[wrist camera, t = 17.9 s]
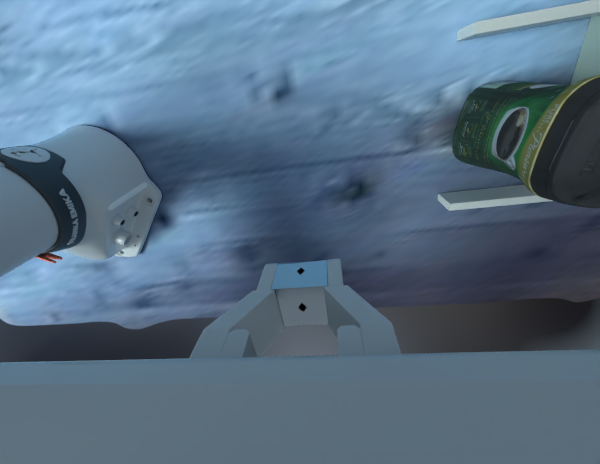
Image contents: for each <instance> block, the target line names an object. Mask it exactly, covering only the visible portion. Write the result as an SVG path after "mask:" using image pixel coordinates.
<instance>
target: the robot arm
mask: <svg viewBox="0 0 600 464" xmlns="http://www.w3.org/2000/svg"><path fill="white" fill-rule="evenodd" d="M161 198H162V193H161V191H160V190H159V188H158V187H157V186H156V185H155V184H154V183H153V182H152V181H151V180H150V179H149V178H148V176H147V174H146V173H145V171H144V168H143V167H142V165H141V163H140V161H139V160H138V158H137V157H136V155H135V154H134V153H133V152H132V150H131V149H130V148H129V147H128V146H127V145H126V144H125V143H123V142H122V141H121V140H120V139H118V138H117V137H116V136H114V135H112V134H111V133H109V132H107V131H105V130H102V129H100V128H97V127H93V126H87V125H79V126H74V127H71V128H68V129H67V130H65V131H63V132H62V133H60V134H58V135H56V136H54V137H52V138H50V139H48V140H45V141H42V142H40V143H37V144H33V145H28V146H16V147H8V148H2V149H0V277H2V276H3V275H5V274H7V273H9V272H10V271H12V270H14V269H15V268H17V267H19V266H20V265H22V264H24V263H25V262H27V261H29V260H30V259H32V258H34V257H36V258H39V259H42V260H45V261H48V262H52V263H56V261H54V260H51V259H58V260H61V259H62V257H59V256H56V255H54V254H51V253H50V252H55V251H59V250H61V251H63V252H66V253H69V254H72V255H75V256H78V257H82V258H86V259H93V260H103V259H107V258H110V257H112V256H120V257H134V256H137V255H138V254H140V252H141V250H142V247H143V245H144V242H145V240H146V237H147V235H148V232H149V229H150V227H151V224H152V222H153V219H154V217H155V214H156V211H157V209H158V206H159V204H160V201H161ZM150 199H151V200H152V201H151V200H150ZM49 258H50V259H49ZM300 325H328V326H329V327H330V329H331V330H332V331H333V333H334V334H335V336H336V337H337V339H338V355H331V356H330V355H329V356H327V355H326V356H283V357H262V356H263V354H264V353H265V352H266V350H267V349H268V348H269V346H270V345H271V344H272V343H273V341H274V340H275V339H276V337H277V336H278V335H279V334H280V332H281V331H282V330H283V328H284V327H286V326H300ZM0 464H600V350H557V351H554V350H553V351H508V352H467V353H466V352H463V353H427V354H426V353H422V354H401V351H400V348H399V345H398V342H397V339H396V335H395V332H394V328H393V325H392V323H391V322H390V321H389V320H388V319H387V318H385V317H384V316H383V315H382V314H381V313H379V312H378V311H377V310H376V309H375V308H374V307H372V306H371V305H370V304H369V303H368V302H367V301H365V300H364V299H363V298H362V297H361V296H359V295H358V294H357V293H356V292H355V291H354V290H352V289H351V288H350V287H349V286H348V285H343V276H342V267H341V259H330V260H322V261H311V262H291V263H273V264H266V265H265V266H264V269H263V272H262V275H261V278H260V281H259V284H258V287H257V290H256V291H252V292H250V293H249V294H248V295H247V296H245V297H244V298H243V299H242V300H240V301H239V302H238V303H237V304H235V305H234V306H233V307H232V308H230V309H229V310H228V311H227V312H225V313H224V314H223V315H221V316H220V317H219V318H218V319H216V320H215V321H214V322H213V323H212V324H210V325H209V326H208V327H207V328H205V329H204V330H203V332H202V334H201V336H200V338H199V340H198V342H197V344H196V346H195V348H194V350H193V352H192V354H191V356H190V358H189V359H151V360H149V359H148V360H105V361H103V360H102V361H58V362H57V361H56V362H9V363H0Z"/></svg>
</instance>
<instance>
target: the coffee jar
mask: <svg viewBox="0 0 600 464" xmlns="http://www.w3.org/2000/svg"><path fill="white" fill-rule="evenodd" d="M453 153H454V155H455V157H456V158H457V159H459V160H460V161H462V162H465V163H468V164H471V165H474V166H479V167H483V168H487V169H492V170H496V171H500V172H503V173H506V174H509V175H512V176H514V177H516V178H518V179H520V180H521V181H522V182H523V183H524V185H525V186H526V187H527V188H528V189H529V190H530V191H531V192H532V193H533V194H535V195H537V196H539V197H541V198H545V199H549V200H553V201H557V202H559V203H563V204H568V205H573V206H579V207H587V208H600V75H597V76H593V77H589V78H586V79H583V80H581V81H578V82H576V83H574V84H572V85H552V84H539V83H530V82H518V81H503V82H492V83H487V84H484V85H482V86H480V87H478V88H476V89H475V90H474V91H473V92H472V93H471V94H470V95H469V96H468V98H467V99H466V101H465V103H464V106H463V108H462V111H461V113H460V116H459V119H458V122H457V126H456V129H455V134H454V139H453Z"/></svg>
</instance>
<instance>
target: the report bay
mask: <svg viewBox="0 0 600 464" xmlns="http://www.w3.org/2000/svg"><path fill="white" fill-rule="evenodd" d="M589 17H591V19H590V22H589V25H588V29H587V32H586V35H585V38H584V41H583V45H582V48H581V51H580V54H579V57H578V61H577V64H576V67H575V70H574V74H573V77H572V80H571V83H570V85H572V84H574V83H576V82H578V81H581V80H583V79H586V78H589V77H593V76H597V75H600V0H591V1H585V2H580V3H575V4H569V5H564V6H559V7H553V8H548V9H542V10H537V11H532V12H526V13H521V14H515V15H510V16H505V17H499V18H494V19H489V20H483V21H478V22H475V23H473V24H471V25H468V26H466V27H464V28H462V29H460V30H458V32H457V41H460V40H466V39H472V38H477V37H483V36H488V35H494V34H500V33H505V32H511V31H516V30H522V29H528V28H533V27H539V26H545V25H550V24H556V23H561V22H567V21H573V20H578V19H584V18H589ZM438 201H439V202H440V203H441V204H443V205H444V206H445V207H446V208H447V209H448V210H449V211H451V210H462V209H472V208H483V207H493V206H504V205H515V204H525V203H536V202H546V201H553V200H549V199H545V198H541V197H539V196H537V195H535V194H533V193H532V192H531V191H530V190H529V189H528V188H527V187H526V186H525V185H516V186H506V187H497V188H487V189H477V190H468V191H458V192H449V193H439V194H438Z"/></svg>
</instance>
